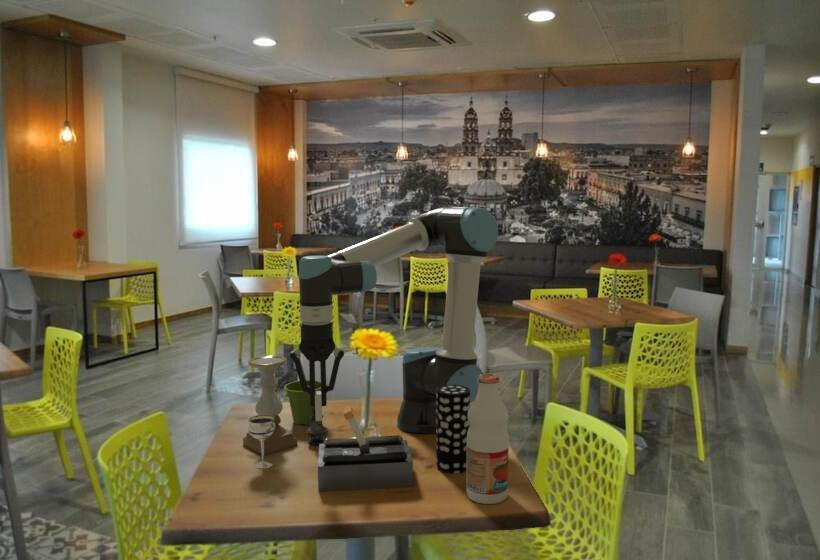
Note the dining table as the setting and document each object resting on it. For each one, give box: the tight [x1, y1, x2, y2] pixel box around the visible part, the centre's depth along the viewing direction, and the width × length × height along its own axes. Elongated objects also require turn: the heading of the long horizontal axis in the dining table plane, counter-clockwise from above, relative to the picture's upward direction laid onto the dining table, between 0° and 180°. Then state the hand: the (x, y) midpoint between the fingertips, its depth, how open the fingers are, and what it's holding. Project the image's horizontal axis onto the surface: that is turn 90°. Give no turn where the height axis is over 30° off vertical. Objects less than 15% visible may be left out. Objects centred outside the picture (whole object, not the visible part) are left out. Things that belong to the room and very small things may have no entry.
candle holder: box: [242, 355, 298, 456], centre depth 181 cm, size 11×11×24 cm
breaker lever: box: [342, 405, 370, 454], centre depth 160 cm, size 2×4×11 cm, turn 5°
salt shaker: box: [306, 407, 329, 447], centre depth 184 cm, size 6×6×12 cm
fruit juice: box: [465, 373, 510, 505], centre depth 150 cm, size 9×9×28 cm
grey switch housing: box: [317, 435, 414, 492], centre depth 162 cm, size 22×14×8 cm, turn 96°
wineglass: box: [247, 414, 275, 470], centre depth 169 cm, size 7×7×12 cm
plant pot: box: [283, 379, 321, 426], centre depth 200 cm, size 12×12×11 cm
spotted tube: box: [435, 385, 471, 474], centre depth 166 cm, size 8×8×20 cm
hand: (318, 419), depth 159 cm, fingers closed
